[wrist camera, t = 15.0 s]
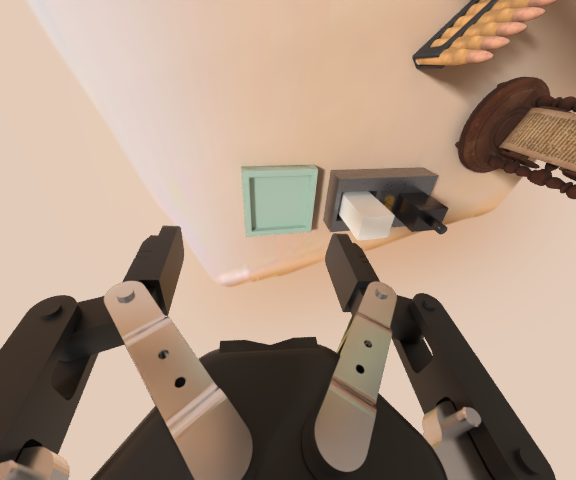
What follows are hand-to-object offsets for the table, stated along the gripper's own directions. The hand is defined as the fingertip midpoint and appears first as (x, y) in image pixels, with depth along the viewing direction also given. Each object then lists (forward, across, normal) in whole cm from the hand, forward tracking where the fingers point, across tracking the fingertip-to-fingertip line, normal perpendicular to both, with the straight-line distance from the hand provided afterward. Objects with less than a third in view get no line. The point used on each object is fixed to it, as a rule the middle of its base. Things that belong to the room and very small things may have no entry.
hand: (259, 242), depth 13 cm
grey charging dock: (+29, -23, +11) cm, 38 cm away
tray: (+28, -6, +13) cm, 31 cm away
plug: (+27, -18, +11) cm, 35 cm away
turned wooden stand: (+31, -42, -3) cm, 52 cm away
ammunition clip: (+31, -26, -14) cm, 42 cm away
